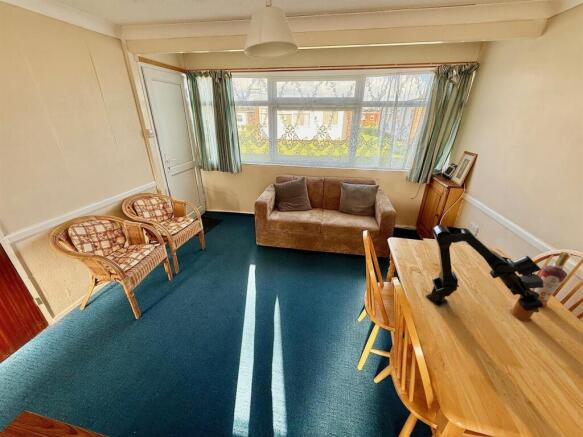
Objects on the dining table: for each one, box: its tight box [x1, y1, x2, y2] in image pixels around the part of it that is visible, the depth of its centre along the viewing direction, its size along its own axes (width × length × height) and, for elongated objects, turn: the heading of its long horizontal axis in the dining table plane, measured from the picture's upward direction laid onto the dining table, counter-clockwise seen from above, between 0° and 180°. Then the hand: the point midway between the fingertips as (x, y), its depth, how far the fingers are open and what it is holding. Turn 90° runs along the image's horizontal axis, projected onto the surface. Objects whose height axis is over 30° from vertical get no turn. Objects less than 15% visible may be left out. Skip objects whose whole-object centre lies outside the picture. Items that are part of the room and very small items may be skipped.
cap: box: [525, 289, 540, 298], centre depth 97 cm, size 4×4×2 cm
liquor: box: [531, 251, 571, 307], centre depth 102 cm, size 7×7×28 cm
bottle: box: [510, 295, 535, 322], centre depth 99 cm, size 6×6×13 cm
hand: (530, 303), depth 98 cm, fingers open, 9 cm apart
